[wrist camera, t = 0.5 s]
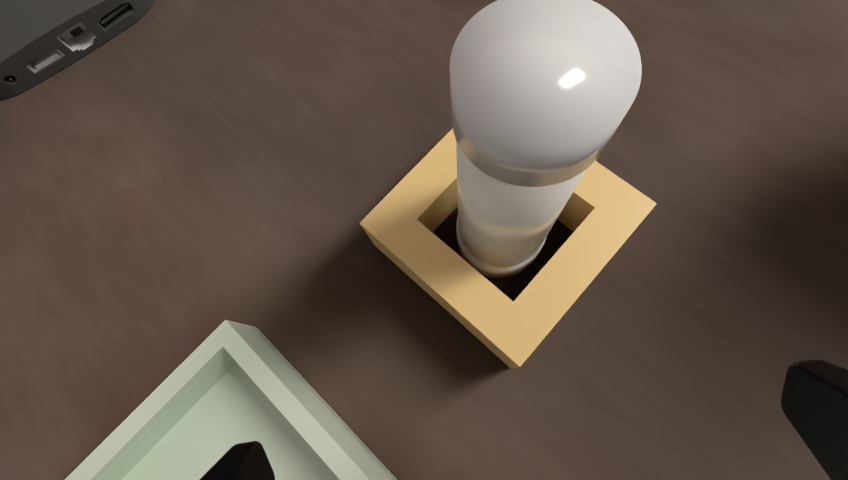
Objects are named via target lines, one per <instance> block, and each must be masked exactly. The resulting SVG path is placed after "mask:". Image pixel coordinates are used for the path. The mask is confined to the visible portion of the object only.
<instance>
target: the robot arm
mask: <svg viewBox="0 0 848 480" xmlns="http://www.w3.org/2000/svg"><path fill="white" fill-rule="evenodd" d="M781 405H782V409H783V411H784V413H785V415H786V417H787V418H788V420H789V421H790V422H791V424H792V425H793V427H794V428H795V430H796V431H797V432H798V434H799V435H800V437H801V438H802V439H803V441H804V442H805V444H806V445H807V446H808V448H809V449H810V451H811V452H812V453H813V455H814V456H815V458H816V459H817V460H818V462H819V463H820V465H821V466H822V468H823V469H824V470H825V472H826V473H827V475H828V476H829V477H830V479H831V480H848V370H847V369H844V368H841V367H839V366H836V365H833V364H831V363H828V362H825V361H822V360H808V361H801V362H795V363H792V364H791V365H790V366H789V367H788V369H787V373H786V377H785V382H784V387H783V392H782V396H781ZM200 480H275V475H274V472H273V469H272V467H271V464H270V462H269V460H268V457H267V455H266V453H265V450H264V448H263V446H262V444H261V443H260V442H258V441H251V442H244V443H238V444H235V445H234V446H232V447H231V448H230V449H229V450H228V451H227V452H226V453H225V454H224V455H223V456H222V457H221V458H220V459H219V460H218V461H217V462H216V463H215V464H214V465H213V466H212V467H211V468H210V469H209V470H208V471H207V472H206V473H205V474H204V475H203V476H202V477H201V479H200Z"/></svg>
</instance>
